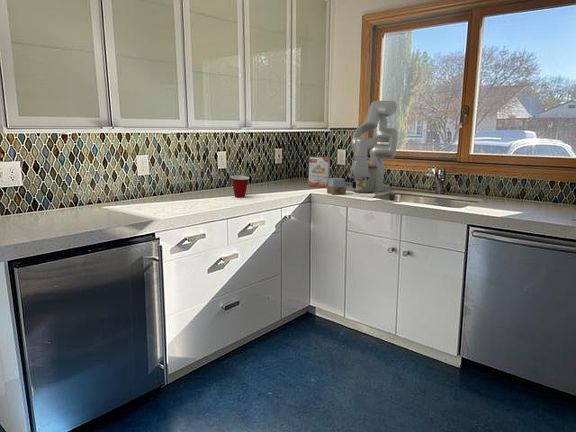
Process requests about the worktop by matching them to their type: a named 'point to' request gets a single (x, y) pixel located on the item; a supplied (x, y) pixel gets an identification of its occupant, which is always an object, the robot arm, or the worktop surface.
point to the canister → (369, 180)
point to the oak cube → (360, 184)
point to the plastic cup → (239, 185)
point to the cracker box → (319, 171)
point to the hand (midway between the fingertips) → (358, 187)
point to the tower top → (336, 182)
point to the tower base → (336, 190)
